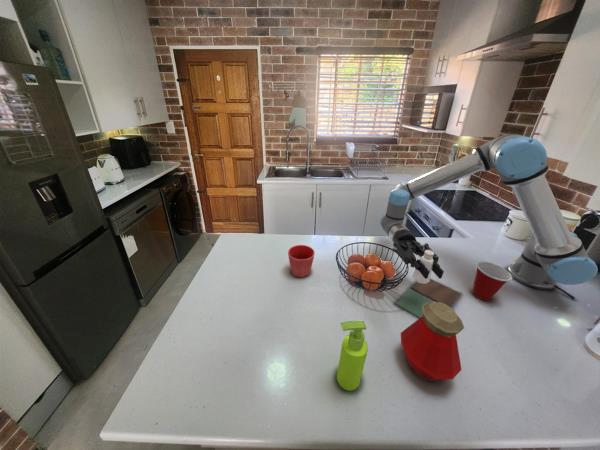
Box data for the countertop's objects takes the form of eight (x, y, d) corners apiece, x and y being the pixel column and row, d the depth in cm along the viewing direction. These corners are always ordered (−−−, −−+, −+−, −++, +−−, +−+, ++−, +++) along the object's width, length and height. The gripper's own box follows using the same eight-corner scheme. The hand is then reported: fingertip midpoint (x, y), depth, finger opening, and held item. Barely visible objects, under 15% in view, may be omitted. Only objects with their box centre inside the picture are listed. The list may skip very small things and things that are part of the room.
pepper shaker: (428, 286, 81) (438, 258, 76) (410, 280, 84) (419, 252, 79) (430, 277, 85) (439, 250, 80) (413, 271, 88) (421, 245, 83)
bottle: (466, 385, 63) (497, 331, 54) (423, 401, 59) (448, 346, 50) (423, 335, 76) (442, 285, 67) (385, 345, 73) (400, 293, 64)
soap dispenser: (330, 368, 66) (338, 314, 57) (356, 367, 67) (367, 313, 57) (335, 391, 61) (345, 336, 52) (362, 389, 61) (376, 334, 52)
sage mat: (448, 310, 86) (448, 309, 86) (436, 328, 79) (437, 327, 79) (409, 290, 95) (409, 289, 94) (395, 304, 88) (395, 303, 88)
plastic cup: (505, 308, 88) (520, 281, 83) (472, 302, 90) (484, 276, 84) (491, 287, 98) (503, 263, 92) (461, 283, 99) (471, 258, 94)
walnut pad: (459, 294, 94) (460, 293, 93) (449, 308, 87) (450, 307, 87) (422, 276, 103) (423, 275, 102) (411, 288, 96) (411, 287, 95)
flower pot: (283, 275, 100) (283, 255, 96) (294, 261, 109) (294, 242, 105) (307, 282, 96) (309, 262, 92) (316, 267, 106) (318, 248, 101)
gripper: (420, 245, 100) (456, 284, 79) (379, 245, 99) (405, 284, 78) (425, 229, 96) (464, 265, 76) (383, 228, 95) (411, 265, 74)
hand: (434, 274), depth 77 cm, fingers closed on pepper shaker, 4 cm apart
